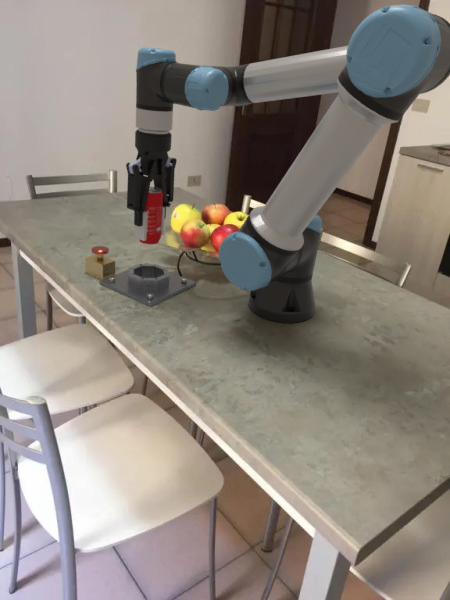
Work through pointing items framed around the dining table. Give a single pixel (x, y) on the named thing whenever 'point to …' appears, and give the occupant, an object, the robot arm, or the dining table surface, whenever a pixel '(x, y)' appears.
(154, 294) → the flange socket
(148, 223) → the beverage can
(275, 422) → the dining table surface
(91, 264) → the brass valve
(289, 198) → the robot arm
